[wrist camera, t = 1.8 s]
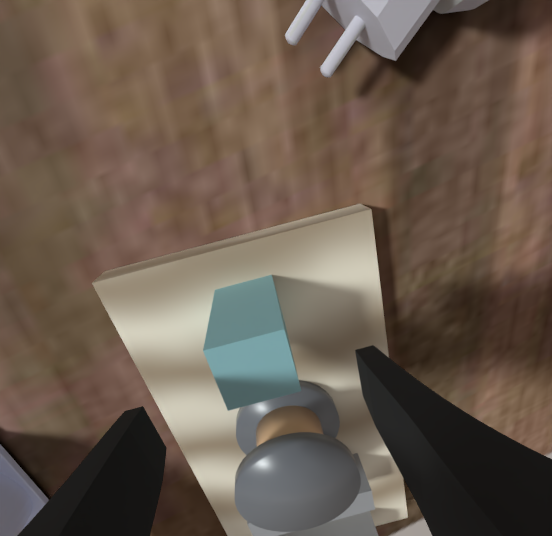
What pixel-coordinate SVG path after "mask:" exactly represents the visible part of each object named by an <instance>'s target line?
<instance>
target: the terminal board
mask: <svg viewBox="0 0 552 536" xmlns="http://www.w3.org/2000/svg"><path fill="white" fill-rule="evenodd" d="M268 275H272V277H273V281H274V285H275V288H276V292H277V296H278V299H279V303H280V307H281V310H282V314H283V318H284V321H285V325H286V329H287V333H288V338H289V342H290V346H291V350H292V354H293V358H294V362H295V367H296V371H297V375H298V379H299V380H303V381H307V382H311V383H313V384H316V385H318V386H320V387H321V388H323V389H324V390H325V391H326V392H327V393H328V394H329V395H330V396H331V397H332V399H333V401H334V404H335V406H336V409H337V412H338V415H339V420H340V427H339V431H338V434H337V437H336V439H338V440H339V441H341V442H342V443H343V444H345V445H346V446H347V447H348V448H349V450H350V451H351V453H352V454H355V453H358V456H359V458H360V461H361V464H362V466H363V469H364V472H365V474H366V477H367V480H368V482H369V485H370V488H371V490H372V495H373V501H374V506H375V510H371V511H370V513H371V516H372V519H373V522H374V525H375V526H379V525H382V524H386V523H390V522H393V521H397V520H401V519H405V518H408V514H407V506H406V497H405V489H404V481H403V476H402V474H401V473H400V471H399V469H398V467H397V465H396V463H395V462H394V460H393V458H392V456H391V454H390V452H389V450H388V449H387V447H386V445H385V443H384V441H383V439H382V438H381V436H380V434H379V432H378V430H377V428H376V426H375V424H374V422H373V419H372V417H371V415H370V412H369V410H368V407H367V405H366V402H365V400H364V398H363V394H362V389H361V383H360V377H359V371H358V365H357V359H356V354H355V350H357V349H361V348H364V347H368V346H372V345H373V346H375V347H377V348H378V349H379V350H380V351H381V352H383V353H384V354H385V355H386V356H387V357H389V354H388V345H387V337H386V328H385V320H384V311H383V303H382V295H381V286H380V278H379V269H378V261H377V252H376V244H375V235H374V227H373V218H372V210H371V209H370V208H368V207H366V206H364V205H362V204H357V205H353V206H350V207H346V208H342V209H338V210H335V211H331V212H327V213H323V214H320V215H316V216H312V217H308V218H304V219H301V220H297V221H293V222H289V223H286V224H282V225H278V226H274V227H270V228H267V229H263V230H259V231H255V232H252V233H248V234H244V235H240V236H237V237H233V238H229V239H225V240H221V241H218V242H214V243H210V244H206V245H203V246H199V247H195V248H191V249H188V250H184V251H180V252H176V253H172V254H169V255H165V256H161V257H157V258H154V259H150V260H146V261H142V262H139V263H135V264H131V265H127V266H123V267H120V268H116V269H112V270H108V271H105V272H104V273H103V274H101V275H100V276H99V277H98V278H97V279H96V280H95V281H94V282H93V283H92V284H93V286H94V288H95V290H96V292H97V294H98V296H99V297H100V299H101V301H102V303H103V305H104V307H105V309H106V310H107V312H108V314H109V316H110V318H111V320H112V322H113V323H114V325H115V327H116V329H117V331H118V333H119V335H120V336H121V338H122V340H123V342H124V344H125V346H126V348H127V350H128V351H129V353H130V355H131V357H132V359H133V361H134V363H135V364H136V366H137V368H138V370H139V372H140V374H141V376H142V377H143V379H144V381H145V383H146V385H147V387H148V389H149V390H150V392H151V394H152V396H153V398H154V400H155V402H156V403H157V405H158V407H159V409H160V411H161V413H162V415H163V417H164V418H165V420H166V422H167V424H168V426H169V428H170V430H171V431H172V433H173V435H174V437H175V439H176V441H177V443H178V444H179V446H180V448H181V450H182V452H183V454H184V456H185V457H186V459H187V461H188V463H189V465H190V467H191V469H192V470H193V472H194V474H195V476H196V478H197V480H198V482H199V484H200V485H201V487H202V489H203V491H204V493H205V495H206V497H207V498H208V500H209V502H210V504H211V506H212V508H213V510H214V511H215V513H216V515H217V517H218V519H219V521H220V523H221V524H222V526H223V528H224V530H225V532H226V534H227V536H253V535H252V533H251V531H250V529H249V527H248V525H247V520H245V519H244V518H243V517H242V516H241V515H240V513H239V512H238V510H237V508H236V505H235V499H234V497H235V475H236V471H237V469H238V467H239V465H240V463H241V462H242V460H243V459H244V458H245V457H246V454H245V453H244V452H243V451H242V450H241V449H240V447H239V445H238V442H237V439H236V418H237V414H238V411H239V409H240V408H236V409H233V410H229V411H228V410H227V407H226V405H225V403H224V400H223V398H222V395H221V393H220V391H219V388H218V386H217V383H216V381H215V379H214V376H213V374H212V371H211V369H210V367H209V364H208V362H207V359H206V357H205V355H204V352H203V348H204V343H205V338H206V333H207V328H208V322H209V317H210V312H211V307H212V302H213V297H214V292H215V290H216V289H220V288H223V287H227V286H231V285H235V284H238V283H242V282H246V281H250V280H253V279H257V278H261V277H265V276H268Z"/></svg>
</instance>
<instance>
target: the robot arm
mask: <svg viewBox="0 0 552 536" xmlns="http://www.w3.org/2000/svg"><path fill="white" fill-rule="evenodd" d="M355 354H356V359H357V365H358V371H359V377H360V383H361V389H362V394H363V398H364V400H365V402H366V405H367V407H368V410H369V412H370V415H371V417H372V419H373V422H374V424H375V426H376V428H377V430H378V432H379V434H380V436H381V438H382V439H383V441H384V443H385V445H386V447H387V449H388V450H389V452H390V454H391V456H392V458H393V460H394V462H395V463H396V465H397V467H398V469H399V471H400V473H401V474H402V476H403V478H404V480H405V482H406V484H407V485H408V487H409V489H410V491H411V493H412V495H413V496H414V498H415V500H416V502H417V504H418V506H419V508H420V510H421V512H422V514H423V516H424V518H425V520H426V522H427V525H428V527H429V529H430V531H431V534H432V536H552V459H550V458H548V457H546V456H544V455H542V454H540V453H538V452H536V451H534V450H532V449H529V448H527V447H526V446H524V445H522V444H520V443H518V442H516V441H514V440H513V439H511V438H509V437H507V436H505V435H503V434H501V433H500V432H498V431H496V430H494V429H493V428H491V427H489V426H487V425H486V424H484V423H482V422H480V421H479V420H477V419H475V418H474V417H472V416H470V415H469V414H467V413H466V412H464V411H462V410H461V409H459V408H458V407H456V406H455V405H453V404H452V403H450V402H449V401H447V400H446V399H444V398H442V397H441V396H440V395H438V394H437V393H435V392H434V391H432V390H431V389H429V388H428V387H427V386H425V385H424V384H423V383H421V382H420V381H418V380H417V379H416V378H414V377H413V376H412V375H410V374H409V373H408V372H406V371H405V370H404V369H402V368H401V367H400V366H399V365H397V364H396V363H395V362H394V361H392V360H391V359H390V358H389V357H387V356H386V355H385V354H384V353H383V352H381V351H380V350H379V349H378V348H377V347H375V346H373V345H372V346H368V347H364V348H361V349H357V350H355ZM165 457H166V446H165V445H164V443H163V441H162V439H161V438H160V436H159V434H158V432H157V430H156V429H155V427H154V425H153V423H152V422H151V420H150V418H149V416H148V415H147V413H146V411H145V409H144V407H143V406H142V407H139V408H135V409H131V410H127V411H125V412H124V413H123V414H122V415H121V416H120V417H119V418H118V419H117V421H116V422H115V423H114V424H113V425H112V427H111V428H110V429H109V430H108V431H107V432H106V434H105V435H104V436H103V437H102V439H101V440H100V441H99V442H98V443H97V445H96V446H95V447H94V448H93V449H92V451H91V452H90V453H89V454H88V455H87V457H86V458H85V459H84V460H83V461H82V463H81V464H80V465H79V466H78V467H77V469H76V470H75V471H74V472H73V473H72V475H71V476H70V477H69V478H68V479H67V481H66V482H65V483H64V484H63V485H62V486H61V487H60V488H59V490H58V491H57V492H56V493H55V494H54V495H53V496H52V498H51V499H50V500H49V499H48V498H47V497H46V496H45V495H44V493H43V492H42V491H41V490H40V489H39V488H38V487H37V485H36V484H35V483H34V482H33V481H32V480H31V479H30V477H29V476H28V475H27V474H26V473H25V472H24V471H23V469H22V468H21V467H20V466H19V465H18V464H17V463H16V461H15V460H14V459H13V458H12V457H11V456H10V455H9V453H8V452H7V451H6V450H5V449H4V448H3V447H2V446H1V444H0V536H150V532H151V528H152V524H153V520H154V516H155V512H156V507H157V503H158V499H159V495H160V490H161V486H162V481H163V473H164V466H165Z"/></svg>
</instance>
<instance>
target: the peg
mask: <svg viewBox="0 0 552 536" xmlns="http://www.w3.org/2000/svg"><path fill="white" fill-rule="evenodd" d="M203 352H204V355H205V357H206V359H207V362H208V364H209V367H210V369H211V371H212V374H213V376H214V379H215V381H216V383H217V386H218V388H219V391H220V393H221V395H222V398H223V400H224V403H225V405H226V407H227V410H228V411H229V410H233V409H236V408H240V407H244V406H248V405H251V404H255V403H259V402H263V401H266V400H270V399H274V398H278V397H281V396H285V395H289V394H293V393H296V392H300V391H301V387H300V383H299V379H298V375H297V371H296V367H295V362H294V358H293V354H292V350H291V346H290V342H289V338H288V333H287V329H286V325H285V321H284V318H283V314H282V310H281V307H280V303H279V299H278V296H277V292H276V288H275V285H274V281H273V277H272V275H268V276H265V277H261V278H257V279H253V280H250V281H246V282H242V283H238V284H235V285H231V286H227V287H223V288H220V289H216V290H215V292H214V297H213V302H212V307H211V312H210V317H209V322H208V328H207V333H206V338H205V343H204V348H203Z"/></svg>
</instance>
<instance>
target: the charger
mask: <svg viewBox="0 0 552 536" xmlns="http://www.w3.org/2000/svg"><path fill="white" fill-rule="evenodd" d="M487 1H488V0H306V2H305V3H304V5H303V6H302V8H301V10H300V11H299V13H298V14H297V16H296V18H295V19H294V21H293V23H292V24H291V26H290V27H289V29H288V31H287V32H286V34H285V37H286V40H287V42H288V43H289V44H291V45H297V43H298V41H299V40H300V38H301V37H302V35H303V34H304V32H305V30H306V29H307V27H308V26H309V24H310V22H311V21H312V19H313V18H314V16H315V15H316V13H317V11H318V10H319V8H320V7H321V5H322V6H323V8H324V9H325V10H326V11H327V12H328V13H329V14H330V15H331V16H332V17H333V18H334V19H335V20H336V21H337V22H338V23H339V24H340V25H341V26H342V27H343V28H344V29H345V31H344V33H343V34H342V36H341V37H340V39H339V40H338V42H337V43H336V45H335V46H334V48H333V49H332V51H331V52H330V54H329V55H328V57H327V58H326V60H325V61H324V63H323V64H322V66H321V67H320V68H321V73H322V75H323V76H325V77H331V76H332V74H333V73H334V71H335V70H336V69H337V67H338V66H339V64H340V63H341V61H342V60H343V58H344V57H345V55H346V54H347V52H348V51H349V49H350V48H351V47H352V45H353V44H354V42H355V41H356V40H357V41H359V42H360V43H362V44H363V45H365V46H367V47H368V48H370V49H371V50H373V51H374V52H376V53H377V54H379V55H381V56H382V57H385V58H388V59H391V60H395V61H396V60H397V58H398V57H399V56H400V54H401V53H402V52H403V50H404V49H405V47H406V46H407V45H408V43H409V42H410V41H411V39H412V38H413V36H414V35H415V34H416V32H417V31H418V30H419V28H420V27H421V25H422V24H423V23H424V21H425V20H426V19H427V17H428V16H429V14H430V13H431V12H432V10H434V11H436V12H437V13H440V14H444V13H451V12H459V11H467V10H472V9H475V8H477V7H478V6H480V5H482V4H483V3H485V2H487Z"/></svg>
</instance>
